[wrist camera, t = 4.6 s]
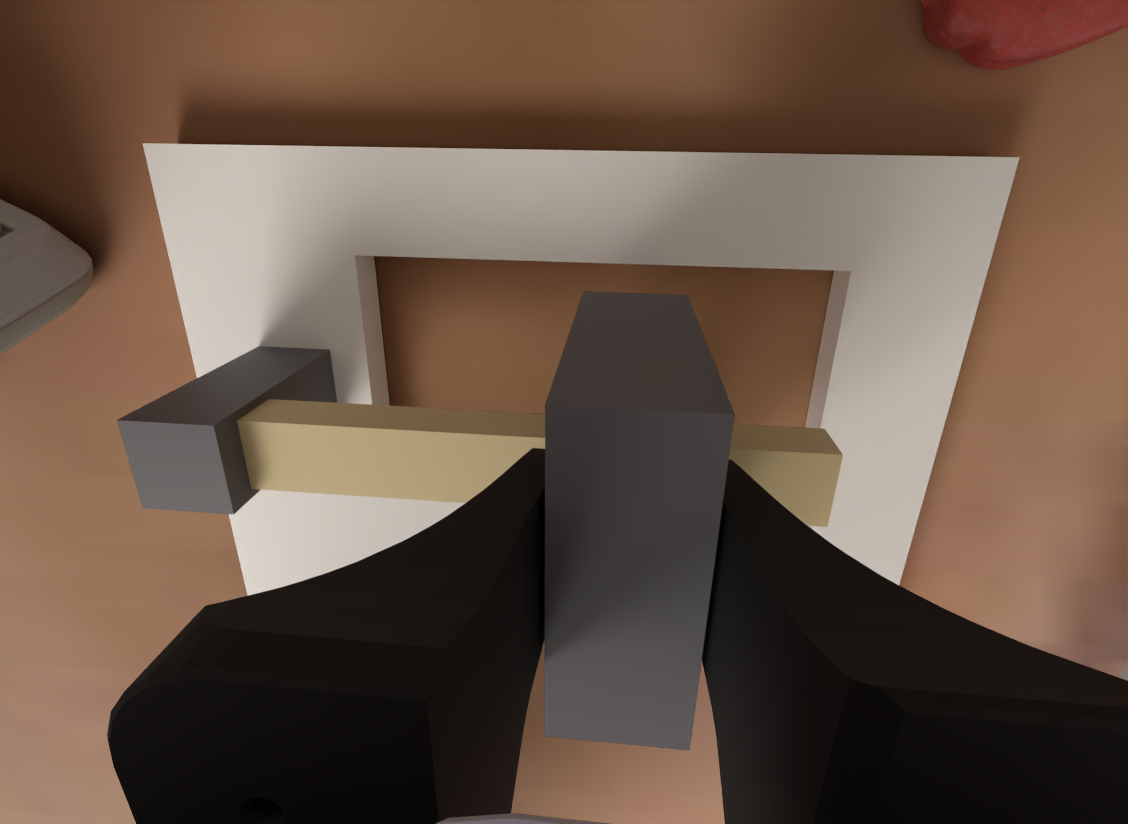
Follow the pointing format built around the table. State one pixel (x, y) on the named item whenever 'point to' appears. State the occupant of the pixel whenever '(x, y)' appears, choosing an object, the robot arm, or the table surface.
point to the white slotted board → (537, 233)
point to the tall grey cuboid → (631, 519)
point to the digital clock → (36, 274)
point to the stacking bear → (1019, 27)
